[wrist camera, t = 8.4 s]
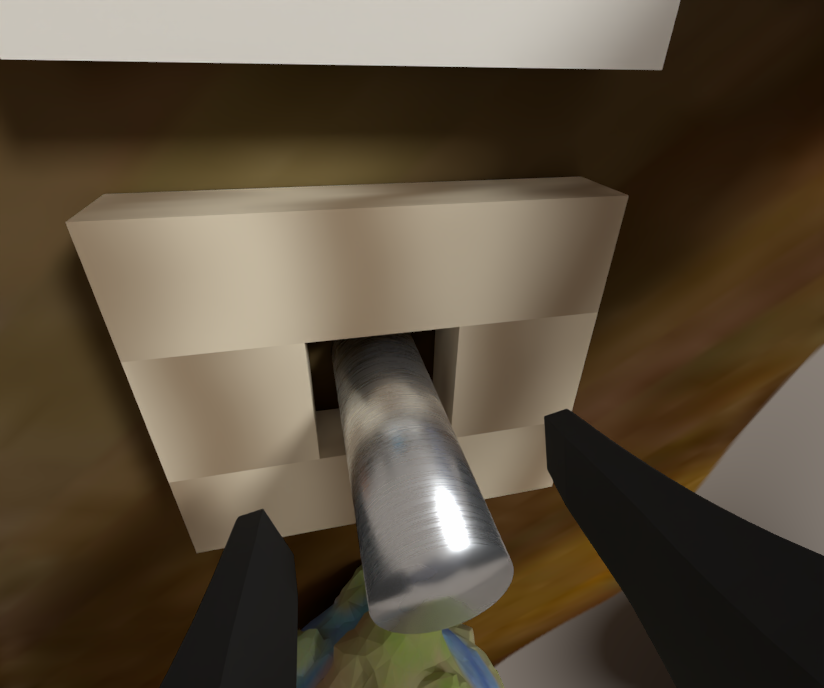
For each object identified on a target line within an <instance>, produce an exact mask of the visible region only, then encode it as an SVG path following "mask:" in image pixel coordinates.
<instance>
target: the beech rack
mask: <svg viewBox="0 0 824 688" xmlns="http://www.w3.org/2000/svg"><path fill="white" fill-rule="evenodd" d="M628 197H629V195H626V194H624V193H621V192H619V191H616V190H614V189H611V188H609V187H606V186H604V185H601V184H599V183H596V182H594V181H591V180H589V179H586V178H584V177H581V176H580V177H553V178H526V179H499V180H472V181H445V182H418V183H390V184H363V185H336V186H309V187H282V188H255V189H228V190H201V191H174V192H147V193H120V194H103V195H102V196H101V197H99V198H98V199H97V200H95V201H94V202H92V203H91V204H90V205H88V206H87V207H86V208H84V209H83V210H81V211H80V212H79V213H77V214H76V215H75V216H73V217H72V218H70V219H69V220H68V221H66V222H65V223H66V225H67V228H68V230H69V233H70V235H71V238H72V240H73V243H74V245H75V248H76V250H77V253H78V255H79V258H80V260H81V263H82V265H83V268H84V270H85V273H86V275H87V278H88V280H89V283H90V285H91V288H92V291H93V293H94V296H95V298H96V301H97V303H98V306H99V308H100V311H101V313H102V316H103V318H104V321H105V323H106V326H107V328H108V331H109V333H110V336H111V338H112V341H113V343H114V346H115V348H116V351H117V354H118V356H119V359H120V361H121V364H122V366H123V369H124V371H125V374H126V376H127V379H128V381H129V384H130V386H131V389H132V391H133V394H134V396H135V399H136V401H137V404H138V406H139V409H140V411H141V414H142V417H143V419H144V422H145V424H146V427H147V429H148V432H149V434H150V437H151V439H152V442H153V444H154V447H155V449H156V452H157V454H158V457H159V459H160V462H161V464H162V467H163V469H164V472H165V474H166V477H167V480H168V482H169V485H170V487H171V490H172V492H173V495H174V497H175V500H176V502H177V505H178V507H179V510H180V512H181V515H182V517H183V520H184V522H185V525H186V527H187V530H188V532H189V535H190V537H191V540H192V543H193V545H194V548H195V550H196V553H200V552H205V551H211V550H216V549H221V548H225V546H226V543H227V541H228V538H229V536H230V534H231V531H232V529H233V526H234V524H235V521H236V520H237V518H238V517H239V516H242V515H245V514H248V513H251V512H254V511H257V510H260V509H264V511H265V512H266V514H267V515H268V517H269V518H270V520H271V521H272V523H273V524H274V526H275V527H276V529H277V530H278V532H279V533H280V535H281V536H282V537H285V536H291V535H296V534H301V533H307V532H312V531H317V530H323V529H328V528H333V527H338V526H344V525H349V524H354V523H356V519H355V513H354V506H353V499H352V492H351V485H350V478H349V472H348V465H347V458H346V451H345V444H344V437H343V431H342V424H341V417H340V410H339V408H337V409H329V410H322V411H316V407H315V400H314V392H313V384H312V376H311V368H310V360H309V353H308V345H307V343H310V342H320V341H329V340H339V339H348V338H358V337H367V336H377V335H386V334H396V333H405V332H415V331H424V330H434V329H435V345H434V366H433V385H434V388H435V390H436V392H437V394H438V397H439V399H440V401H441V403H442V406H443V408H444V410H445V412H446V415H447V417H448V419H449V422H450V424H451V426H452V428H453V431H454V433H455V435H456V437H457V440H458V442H459V444H460V446H461V449H462V451H463V453H464V455H465V458H466V460H467V462H468V464H469V467H470V469H471V471H472V473H473V476H474V478H475V480H476V482H477V485H478V487H479V489H480V492H481V494H482V496H483V498H484V499H488V498H493V497H498V496H504V495H509V494H514V493H520V492H525V491H530V490H536V489H541V488H546V487H552V484H553V480H552V478H551V476H550V474H549V472H548V470H547V460H546V442H545V425H544V416H546V415H549V414H552V413H555V412H558V411H561V410H564V409H568V410H570V411H572V408H573V404H574V401H575V397H576V393H577V389H578V386H579V382H580V378H581V374H582V370H583V367H584V363H585V359H586V355H587V352H588V348H589V344H590V340H591V336H592V333H593V329H594V325H595V321H596V318H597V314H598V310H599V306H600V302H601V299H602V295H603V291H604V287H605V284H606V280H607V276H608V272H609V268H610V265H611V261H612V257H613V253H614V250H615V246H616V242H617V238H618V234H619V231H620V227H621V223H622V219H623V216H624V212H625V208H626V204H627V200H628Z"/></svg>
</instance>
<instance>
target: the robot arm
mask: <svg viewBox="0 0 824 688" xmlns="http://www.w3.org/2000/svg"><path fill="white" fill-rule="evenodd" d="M544 425H545V442H546V460H547V470H548V472H549V474H550V476H551V478H552V480H553V482H554V484H555V486H556V488H557V490H558V491H559V493H560V495H561V497H562V499H563V501H564V503H565V505H566V506H567V508H568V509H569V511H570V512H571V514H572V516H573V517H574V519H575V520H576V522H577V523H578V525H579V526H580V528H581V529H582V531H583V532H584V534H585V535H586V537H587V538H588V540H589V541H590V543H591V544H592V546H593V547H594V548H595V550H596V551H597V553H598V554H599V556H600V557H601V559H602V560H603V562H604V563H605V565H606V566H607V568H608V569H609V571H610V572H611V574H612V575H613V577H614V578H615V580H616V581H617V583H618V584H619V586H620V587H621V589H622V590H623V592H624V594H625V595H626V597H627V598H628V600H629V602H630V603H631V605H632V607H633V608H634V610H635V612H636V614H637V616H638V617H639V619H640V621H641V623H642V624H643V626H644V628H645V630H646V632H647V634H648V635H649V637H650V639H651V641H652V643H653V645H654V646H655V648H656V650H657V652H658V654H659V656H660V657H661V659H662V661H663V663H664V665H665V667H666V669H667V671H668V672H669V674H670V676H671V678H672V680H673V682H674V684H675V685H676V687H677V688H824V556H823V555H821V554H818V553H816V552H814V551H811V550H809V549H807V548H805V547H802V546H800V545H798V544H795V543H793V542H791V541H789V540H786V539H784V538H782V537H779V536H777V535H775V534H773V533H771V532H769V531H767V530H765V529H763V528H761V527H759V526H756V525H754V524H752V523H750V522H748V521H746V520H744V519H742V518H740V517H738V516H736V515H735V514H733V513H731V512H729V511H727V510H725V509H723V508H721V507H719V506H717V505H715V504H714V503H712V502H710V501H708V500H706V499H704V498H703V497H701V496H699V495H697V494H696V493H694V492H692V491H690V490H689V489H687V488H685V487H684V486H682V485H680V484H678V483H677V482H675V481H673V480H672V479H670V478H668V477H667V476H665V475H664V474H662V473H660V472H659V471H657V470H656V469H654V468H652V467H651V466H649V465H648V464H646V463H645V462H643V461H642V460H640V459H639V458H637V457H636V456H634V455H632V454H631V453H629V452H628V451H626V450H625V449H623V448H622V447H621V446H619V445H618V444H616V443H615V442H613V441H612V440H610V439H609V438H608V437H606V436H605V435H603V434H602V433H600V432H599V431H598V430H596V429H595V428H594V427H592V426H591V425H589V424H588V423H587V422H585V421H584V420H583V419H581V418H580V417H578V416H577V415H576V414H574V413H573V412H572V411H570V410H568V409H564V410H561V411H558V412H555V413H552V414H549V415H546V416H544ZM297 632H298V594H297V582H296V572H295V562H294V554H293V553H292V551H291V550H290V548H289V547H288V545H287V544H286V542H285V541H284V539H283V538H282V536H281V535H280V533H279V532H278V530H277V529H276V527H275V526H274V524H273V523H272V521H271V520H270V518H269V517H268V515H267V514H266V512H265V511H264V509H260V510H257V511H254V512H251V513H248V514H245V515H242V516H239V517H238V518H237V520H236V521H235V524H234V526H233V529H232V531H231V534H230V536H229V538H228V541H227V543H226V546H225V548H224V551H223V553H222V556H221V558H220V560H219V563H218V565H217V567H216V570H215V572H214V575H213V577H212V579H211V582H210V584H209V586H208V588H207V591H206V593H205V595H204V597H203V599H202V602H201V604H200V606H199V608H198V611H197V613H196V615H195V617H194V619H193V622H192V624H191V626H190V628H189V630H188V632H187V634H186V636H185V638H184V640H183V642H182V644H181V646H180V648H179V650H178V652H177V654H176V656H175V658H174V660H173V662H172V664H171V666H170V668H169V670H168V672H167V674H166V676H165V678H164V680H163V682H162V683H161V685H160V687H159V688H296V683H297Z"/></svg>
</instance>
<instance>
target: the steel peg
mask: <svg viewBox="0 0 824 688" xmlns="http://www.w3.org/2000/svg"><path fill="white" fill-rule="evenodd" d="M331 355H332V362H333V369H334V376H335V383H336V390H337V396H338V403H339V410H340V417H341V424H342V431H343V437H344V444H345V451H346V458H347V465H348V472H349V478H350V485H351V492H352V499H353V506H354V513H355V519H356V526H357V533H358V540H359V547H360V554H361V560H362V567H363V574H364V581H365V588H366V595H367V601H368V608H369V614H370V617H371V619H372V620H373V621H374V623H375V624H377V625H378V626H379V627H381V628H383V629H385V630H388V631H390V632H395V633H401V634H422V633H430V632H435V631H439V630H443V629H447V628H450V627H453V626H456V625H458V624H461V623H463V622H465V621H467V620H469V619H472V618H473V617H475V616H477V615H479V614H480V613H482V612H483V611H485V610H486V609H488V608H489V607H490V606H492V605H493V604H494V603H495V602H496V601H497V600H499V598H500V597H501V596H502V595H503V594H504V593H505V592H506V590H507V589H508V587H509V585H510V584H511V581H512V578H513V573H514V570H513V564H512V562H511V559H510V557H509V555H508V553H507V550H506V548H505V546H504V543H503V541H502V539H501V537H500V534H499V532H498V530H497V528H496V525H495V523H494V521H493V519H492V516H491V514H490V512H489V510H488V507H487V505H486V503H485V501H484V498H483V496H482V494H481V492H480V489H479V487H478V485H477V482H476V480H475V478H474V476H473V473H472V471H471V469H470V467H469V464H468V462H467V460H466V458H465V455H464V453H463V451H462V449H461V446H460V444H459V442H458V440H457V437H456V435H455V433H454V431H453V428H452V426H451V424H450V422H449V419H448V417H447V415H446V412H445V410H444V408H443V406H442V403H441V401H440V399H439V397H438V394H437V392H436V390H435V388H434V385H433V383H432V381H431V379H430V376H429V374H428V372H427V370H426V367H425V365H424V363H423V361H422V358H421V356H420V354H419V352H418V349H417V347H416V345H415V342H414V340H413V338H412V336H411V334H410V332H405V333H396V334H386V335H377V336H367V337H358V338H348V339H339V340H334V342H333V344H332V350H331Z"/></svg>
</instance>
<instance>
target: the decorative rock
mask: <svg viewBox="0 0 824 688" xmlns="http://www.w3.org/2000/svg"><path fill="white" fill-rule="evenodd" d="M296 688H504V686H503V683H502V681H501V678H500V676H499V674H498V672H497V670H496V669H494V667H493V665H492V664H491V662H490V660H489V659H488V657H487V655H486V654H485V652H484V651H482V650H481V649H480V648H479V647H477V646H476V645H475V642H474V633H473V629H472V628H471V627H469V626H466V625H463V624H458V625H456V626H453V627H450V628H447V629H443V630H439V631H435V632H430V633H422V634H401V633H395V632H390V631H388V630H385V629H383V628H381V627H379V626H378V625H377V624H375V623H374V621H373V620H372V619H371V617H370V614H369V608H368V601H367V595H366V588H365V581H364V574H363V567H362V565H361V566H359V567H358V568H357V569H356V571H355V573H354V575H353V577H352V578H351V579H350V580H349V582H348V583H347V584H346V585H345V587H344V588H343V589H342V591H341V592H340V594H339V595H338V597H337V598H336V599H335V601H334V604H333V605H332V606H330V607H329V608H328V609H326V610H325V611H324V612H323V613H321V614H320V615H319V616H317V617H316V618H314V619H313V620H312V621H310V622H309V623H308V624H307V625H306V626H305V627H304V628H303V629H302V630H300V629H299V630H298V632H297V683H296Z"/></svg>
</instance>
